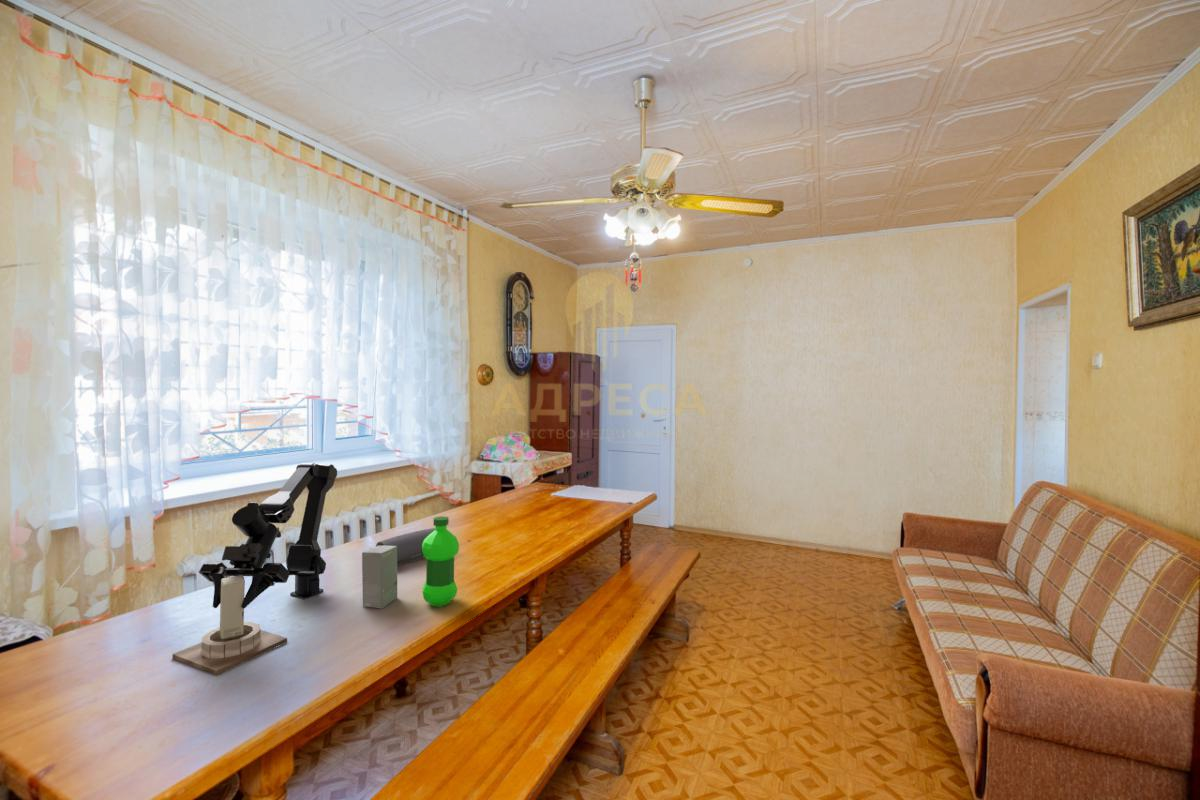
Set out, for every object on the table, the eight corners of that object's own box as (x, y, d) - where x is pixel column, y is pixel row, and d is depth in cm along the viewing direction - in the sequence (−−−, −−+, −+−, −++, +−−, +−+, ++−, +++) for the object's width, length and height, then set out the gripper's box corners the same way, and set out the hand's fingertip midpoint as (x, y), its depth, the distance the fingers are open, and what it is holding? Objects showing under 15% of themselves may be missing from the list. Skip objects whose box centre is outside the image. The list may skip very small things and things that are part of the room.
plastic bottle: (438, 613, 142) (439, 524, 142) (413, 604, 148) (414, 519, 147) (465, 601, 151) (466, 517, 150) (440, 593, 156) (442, 512, 156)
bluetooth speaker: (428, 550, 197) (429, 524, 196) (444, 555, 191) (444, 528, 191) (373, 566, 178) (373, 537, 178) (388, 572, 173) (388, 543, 172)
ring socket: (172, 658, 117) (172, 641, 116) (244, 628, 131) (244, 613, 131) (216, 675, 110) (216, 657, 110) (286, 642, 125) (287, 625, 125)
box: (243, 635, 120) (245, 581, 120) (220, 640, 117) (222, 585, 117) (241, 626, 124) (243, 574, 124) (218, 631, 121) (220, 577, 121)
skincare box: (382, 609, 144) (382, 554, 144) (359, 606, 146) (360, 551, 145) (399, 597, 153) (399, 545, 152) (377, 595, 154) (378, 543, 153)
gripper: (204, 529, 124) (167, 593, 113) (282, 530, 124) (253, 594, 114) (226, 550, 132) (194, 612, 121) (300, 551, 133) (274, 612, 122)
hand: (228, 607), depth 119 cm, fingers closed on box, 6 cm apart
